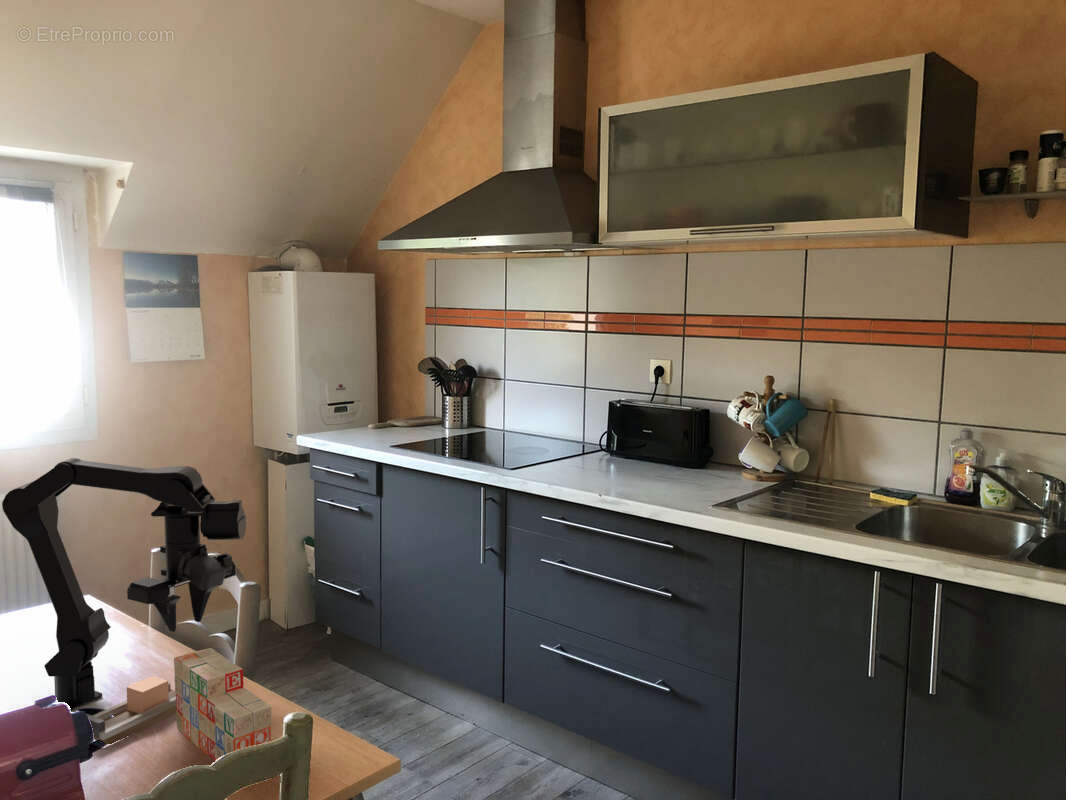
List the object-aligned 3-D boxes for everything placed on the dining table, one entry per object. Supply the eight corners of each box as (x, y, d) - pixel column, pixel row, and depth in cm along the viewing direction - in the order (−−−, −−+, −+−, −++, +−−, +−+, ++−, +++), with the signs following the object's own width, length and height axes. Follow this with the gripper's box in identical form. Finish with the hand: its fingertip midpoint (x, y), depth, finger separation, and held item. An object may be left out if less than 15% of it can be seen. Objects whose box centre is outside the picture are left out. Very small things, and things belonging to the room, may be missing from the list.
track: (75, 738, 136) (74, 714, 136) (166, 695, 151) (166, 674, 151) (103, 749, 133) (103, 724, 133) (194, 704, 148) (193, 682, 148)
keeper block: (127, 709, 143) (126, 686, 142) (153, 698, 147) (152, 675, 147) (143, 715, 141) (142, 692, 140) (168, 703, 145) (168, 680, 145)
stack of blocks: (272, 764, 130) (271, 687, 128) (233, 779, 125) (231, 699, 124) (212, 715, 145) (210, 645, 144) (175, 727, 140) (173, 656, 139)
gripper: (169, 560, 136) (172, 654, 138) (256, 534, 153) (258, 618, 154) (123, 550, 141) (126, 640, 143) (212, 526, 158) (215, 607, 159)
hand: (185, 626), depth 150 cm, fingers open, 5 cm apart
